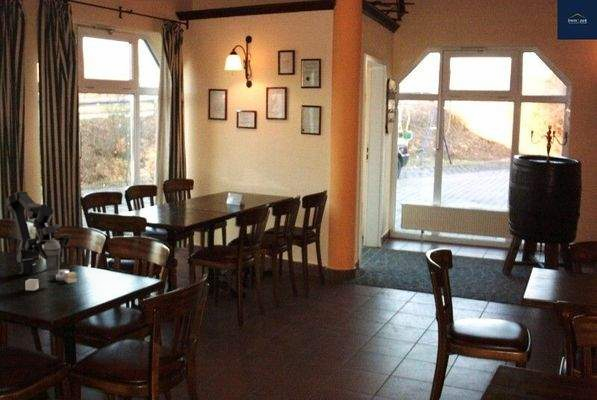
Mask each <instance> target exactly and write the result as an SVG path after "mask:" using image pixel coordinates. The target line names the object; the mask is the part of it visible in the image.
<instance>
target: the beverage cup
mask: <svg viewBox="0 0 597 400" xmlns="http://www.w3.org/2000/svg"><path fill="white" fill-rule="evenodd" d="M54 239H55V238H54ZM54 239H51V233H50V240H48V241H47V242H46V243H45V244H44V245H43V247H42V248H43V250H44V252H45V254H46V257H47V259H46V260H45V263H46V271H47V275H48V276H56V275H57V274H59V270H60V260H61V259H60V258H61V257H60V250H61V247H60V244H59V242H58V241H57V240H54Z"/></svg>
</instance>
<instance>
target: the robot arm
mask: <svg viewBox="0 0 597 400" xmlns="http://www.w3.org/2000/svg"><path fill="white" fill-rule="evenodd" d="M5 205H6V207H7V210H8V212H10V213H11V214H12V215H13V217H14V222H15V225H16V230H17V232H18V237H19V241H20V244H19V246H18V252H17V255H16V262H18V263H19V264H20V272H19V273H17V274H18V275H22V276H23V275H24V276H31V275H34V274H35V275H36V274H37V273H39V270H37V263H36V261H39V257H41V258H43V259H44V260H45V261H46V259H47V257H46V254H45V252H44V250H43V248H44V247H43V246H44V244H45V243H46V242H47V241H48V240H50V233H51V239H54V240H57V241H58V242H59V244H60V247H61V250H60V258H62V257H63V247H64V246H67V245H68V244H69V243H70V240H71V236H70V234H68V233H66V234H63V233H62V234H59V236H58V237H57V238H55V237H56V234H57V233H59V232H60V231H61V227H60V225H59V224H58V223H57V224H53V225H49V222H50V221H51V218H52V216H53V214H54V210H53V208H52V207H50V206H48V205H47V204H46V203H43V204H40V203H36V202H35V201H34V200H33V198H31V196H30V195H28V192H27V191H16V192H15V193H13V194H11V195H9V196H8V197H7V198H6V199H5ZM25 210H26V215H25ZM26 216H27V217H26ZM26 218H28V219H29V220H33V223H32V224H33V225H32V227H33V228H34V229H35V232H36V236H37V237H35V238H34V237H33V238H31V234H30V231H29V227H28V226H29V225H28V223H27V219H26Z"/></svg>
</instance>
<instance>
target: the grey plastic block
mask: <svg viewBox="0 0 597 400" xmlns="http://www.w3.org/2000/svg"><path fill="white" fill-rule="evenodd" d="M24 285H25V287H24V288H25V291H36V290H38V289H39V288H40V287H39V285H40V284H39V279H38V278H37V279H35V278H29V279H27V280H25V283H24Z"/></svg>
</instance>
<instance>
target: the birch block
mask: <svg viewBox="0 0 597 400" xmlns="http://www.w3.org/2000/svg"><path fill="white" fill-rule="evenodd" d="M77 274H78V273H77V272H75V271H69V272H68V273H64V275H65V281H64V282H65V283H67V284H72V283H76V282H78V279H77V278H78V276H77Z"/></svg>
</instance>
